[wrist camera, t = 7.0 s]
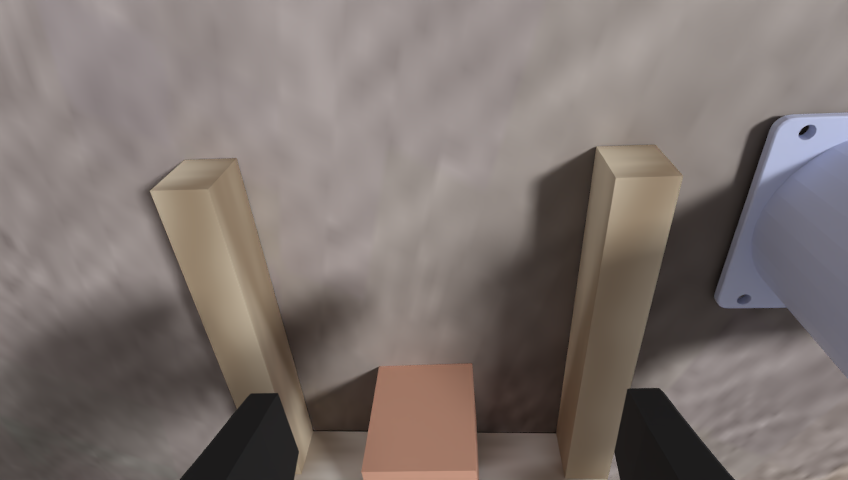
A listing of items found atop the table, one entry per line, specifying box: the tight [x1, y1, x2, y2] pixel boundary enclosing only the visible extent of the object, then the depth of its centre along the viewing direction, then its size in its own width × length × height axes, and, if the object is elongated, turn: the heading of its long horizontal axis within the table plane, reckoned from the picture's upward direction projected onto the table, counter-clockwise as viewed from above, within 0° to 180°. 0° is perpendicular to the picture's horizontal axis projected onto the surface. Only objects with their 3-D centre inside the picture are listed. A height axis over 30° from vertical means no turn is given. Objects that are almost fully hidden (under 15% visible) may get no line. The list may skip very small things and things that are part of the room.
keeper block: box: [361, 363, 479, 480], centre depth 23 cm, size 4×4×6 cm
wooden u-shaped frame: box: [150, 145, 683, 480], centre depth 21 cm, size 17×18×4 cm
